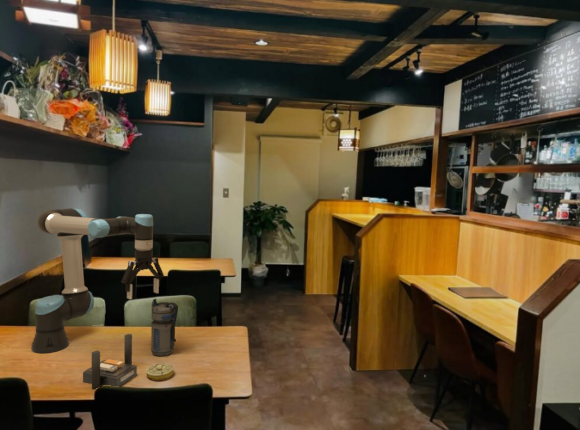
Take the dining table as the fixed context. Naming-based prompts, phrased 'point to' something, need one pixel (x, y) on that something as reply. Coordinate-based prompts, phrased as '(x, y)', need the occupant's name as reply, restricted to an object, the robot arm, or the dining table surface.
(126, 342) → the post far
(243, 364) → the dining table surface
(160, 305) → the beverage bottle
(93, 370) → the post near
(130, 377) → the breaker box
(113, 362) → the paddle orange
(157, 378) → the decorated donut
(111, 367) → the paddle ivory
